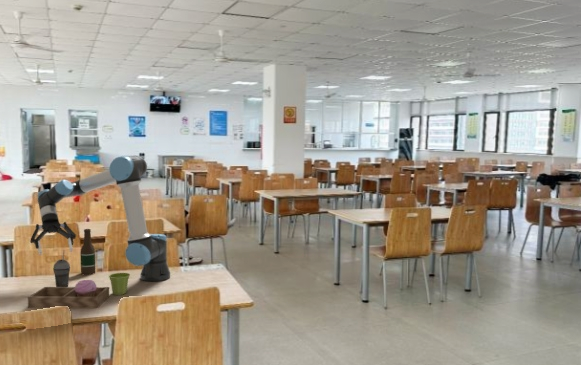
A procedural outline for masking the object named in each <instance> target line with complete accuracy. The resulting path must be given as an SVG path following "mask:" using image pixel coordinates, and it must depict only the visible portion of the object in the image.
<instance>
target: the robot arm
mask: <svg viewBox="0 0 581 365" xmlns="http://www.w3.org/2000/svg"><path fill="white" fill-rule="evenodd" d="M108 168H109V169H106V170H103V171H100V172H98V173H95V174H93V175H89V176H87V177H84V178H81V179H78V180H75V181H72V182H71V181H70V180H67V179H61V180H60V181H58V182H56V184H55V185H53V186H52V187H51V188H50V189H48V188H47V189H43V190H40V191H39V192H38V193H37V203H38V208H39V211H40V213H39V214H40V219H41V224H42V225H41V224H40V225H39V223H36V225H35V230H34V231H33V233H32V236H31V237H30V240H29V242H30V243H31V244H34V245H35V246H34V247H35V249H36V250H38V254H39V256H42V252H43V251H42V246H41V240H42V238H43V237H44V236H45V235H47V234H53V233H54V234H55V233H57V234H59V235H62V236H63V237H64V238H66V239H67V244H68V248H69V252H70V253H71V252H73V249H74V248H73V245H74V240H75V239H76V237H77V235H76V233H75V232H74V231H73V230H72V229H71V227H69V225H67V222H66V221H64V222H62V223H60V220H59V216H58V210H57V206H56V204H58V203H59V202H61V201H62V200H63V199H65V198H71V197H76V196H78V197H79V196H83V195H85V194H87V193H89V192H91V191H94V190H98V189H101V188H104V187H107V186H109V185H113V184H115V183H116V186H117V187H118V188H120V192H121V196H122V197H121V198H122V203H123V208H124V211H125V212H124V213H125V217H126V222H127V228H128V233H129V236H128V238H127V247H126V248H125V252H124V254H125V258H126V260H127V262H129V264H131V265H133V266H135V267H140V266H142V269H141V272H140V280H141V281H145V282H160V281H161V282H162V281H166V280H168V279H170V278H171V271H170V268H169V264H168V255H167V254H168V253H167V252H168V250H167V249H168V248H167V247H168V246H167V245H168V244H167V243H168V240H167V239H168V238H167V235H166V234H160V233H149V232H148V227H147V222H146V217H145V211H144V207H143V206H144V205H143V202H142V195H141V190H140V183H141V182H142V177H143V176H144V175H145V174H146V172H147V170H148V164H147V162H146V160H145V159H144V158H143V157H141V156H140V155H120V156H118V157H115V158H114V159H113V160H112V161H111V162H110V165H109V167H108ZM41 229H42V231H41V232H40V233H39V234H38V232H39V231H40V230H41ZM37 235H38V236H37Z"/></svg>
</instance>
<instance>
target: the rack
mask: <svg viewBox="0 0 581 365" xmlns="http://www.w3.org/2000/svg"><path fill="white" fill-rule="evenodd" d="M96 287H97V289H96V291H95V295H94V297H78V296H77V292H75V286H68V287H56V286H44V287H42V288H41V289H39V290H37V291H36V292H34V293H32V294H31V295H30V296H28V297H27V307H28V308H30V309H31V308H37V309H38V308H40V309H41V308H43V309H44V308H46V307H55V306H68V307H70V309H71V308H73V309H75V308H76V309H78V308H79V309H81V308H82V309H86V308H87V309H91V308H93V309H94V308H95V309H97V308H99V307H100V306H101V305H102V304H103V303H104V302H105V301H107V300H108V299H109V297H110V287H108V286H106V287H105V286H96Z"/></svg>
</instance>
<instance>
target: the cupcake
mask: <svg viewBox="0 0 581 365" xmlns="http://www.w3.org/2000/svg"><path fill="white" fill-rule="evenodd" d="M74 287H75V292H77V296H78V297H94V295H95V291H96V289H97V287H98V286H97V284H96V282H95V281H94V280H92V279H84V280H79V281H78V282H77V283H76V284H75V286H74Z"/></svg>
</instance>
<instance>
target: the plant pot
mask: <svg viewBox="0 0 581 365" xmlns="http://www.w3.org/2000/svg"><path fill="white" fill-rule="evenodd" d="M130 277H131V274H130V273H128V272H116V273H111V274H109V275H108V278H109V280H110V285H111V290H112V294H113V295H116V296H121V295H124V294H127V292H128V291H127V290H128V285H129V284H128V283H129V278H130Z"/></svg>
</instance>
